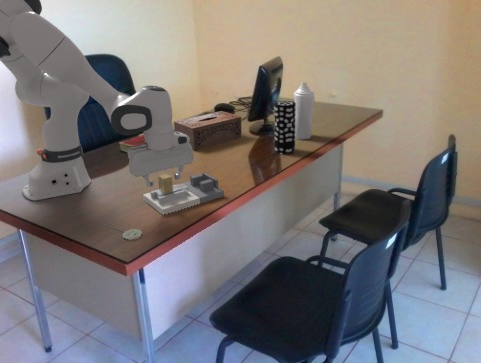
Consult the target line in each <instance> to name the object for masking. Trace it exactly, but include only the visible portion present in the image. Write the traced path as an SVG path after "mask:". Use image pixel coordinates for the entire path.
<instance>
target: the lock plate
mask: <svg viewBox="0 0 481 363" xmlns="http://www.w3.org/2000/svg"><path fill="white" fill-rule="evenodd" d="M180 184H184V185H186V186H188V188H189V193H185V190H181V191H177V192H174V193H171V194H167V195H164V196H160V197H158V199H157V198H156V196H155V191H159V188H158V189H155V190H151V191H149V192H148V193H143V194H142V197H143V201H144V202H146V203H147V204H148V205H149V206H151V207H152V208H154V210H156V211H157V212H158V213H159V214H161V215H162V214H163V215H162V216H165V215H164V214H166V215H169V214H168V213H170V214H172V213H171V212H173V213H175V212H174V211H176V212H178V210H179V211H182V210H185V209H188V208H191V206H192V207H194V205H195V206H197V204H198V205H200V204H203V203H208V202H210V201H213V200H216V199H219V198H223V197H225V191H224V189H223V188H220V187H219V179H218V178H216V177H214V176H212V175H210V174H208V173H207V172H202V173H197V174H195V175H191V176H189V181H186V182H182V183H179V184H172V185H173V186H176V185H180ZM187 207H188V208H187ZM184 208H185V209H184ZM181 209H182V210H181Z"/></svg>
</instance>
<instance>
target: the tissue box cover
mask: <svg viewBox="0 0 481 363" xmlns="http://www.w3.org/2000/svg"><path fill="white" fill-rule="evenodd" d="M173 128H174V131H176V132H181V133H183V134H185V135H187V136H189V137H190V142H189V143H190V144H191V146H192V150H193V152H196V151H199V150H202V149H206V148H210V147H214V146H216V145H221V144H225V143H228V142H231V141H235V140H239V139H242V133H243V132H242V116H240V115H237V114H233V113H229V112H226V111H222V110H220V111H216V112H210V113H207V114H202V115H199V116H194V117H189V118H184V119H180V120H176V121H174V122H173Z"/></svg>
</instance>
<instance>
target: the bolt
mask: <svg viewBox="0 0 481 363" xmlns="http://www.w3.org/2000/svg"><path fill="white" fill-rule="evenodd" d="M157 181H158V189H159V191H155V196H156V198H157V199H158V197H160V196H164V195H167V194H171V193H174V192H177V191H181V190H185V193H189V188H188V186H186V185H184V184H182V183H179V184H180V185H178V184H175V185H176V186H173V185H174V184H173V177H172V175H170V174H168V173H162V174H159V175H157Z"/></svg>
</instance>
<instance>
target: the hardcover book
mask: <svg viewBox="0 0 481 363" xmlns="http://www.w3.org/2000/svg"><path fill="white" fill-rule="evenodd" d="M144 143H145V137H144V134H142V135H139V136H135V137H132V138H130V139H127V140H123V141H120V142H119V143H118V149H119V151H122V152H125V153H128V150H129V149H130V148H132V146H135V145H140V144H144ZM131 150H133V149H131Z"/></svg>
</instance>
